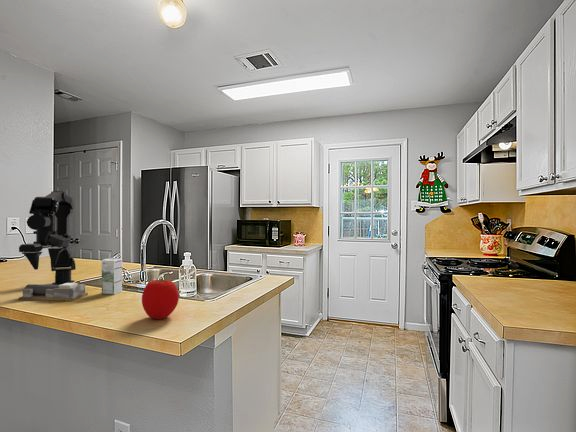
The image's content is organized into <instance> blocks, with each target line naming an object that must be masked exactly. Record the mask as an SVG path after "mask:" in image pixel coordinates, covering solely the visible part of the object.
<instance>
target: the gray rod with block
mask: <svg viewBox="0 0 576 432" xmlns="http://www.w3.org/2000/svg"><path fill="white" fill-rule="evenodd" d="M78 284H79V283H78V282H71V283H65V284H36V283H35V284H33V283H29V284H27V285H25V286H24V288H23V289H33V295H46V290H47V289H54V288H73V287H76V286H78Z"/></svg>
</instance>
